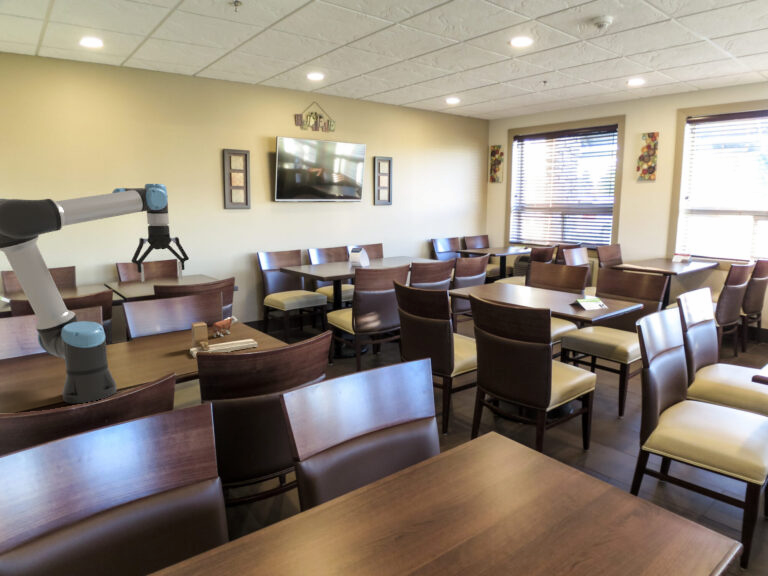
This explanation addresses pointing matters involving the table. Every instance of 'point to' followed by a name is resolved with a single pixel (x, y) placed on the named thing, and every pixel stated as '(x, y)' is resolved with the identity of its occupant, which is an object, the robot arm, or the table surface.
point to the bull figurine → (223, 325)
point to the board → (226, 346)
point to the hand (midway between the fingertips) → (162, 279)
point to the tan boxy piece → (200, 335)
